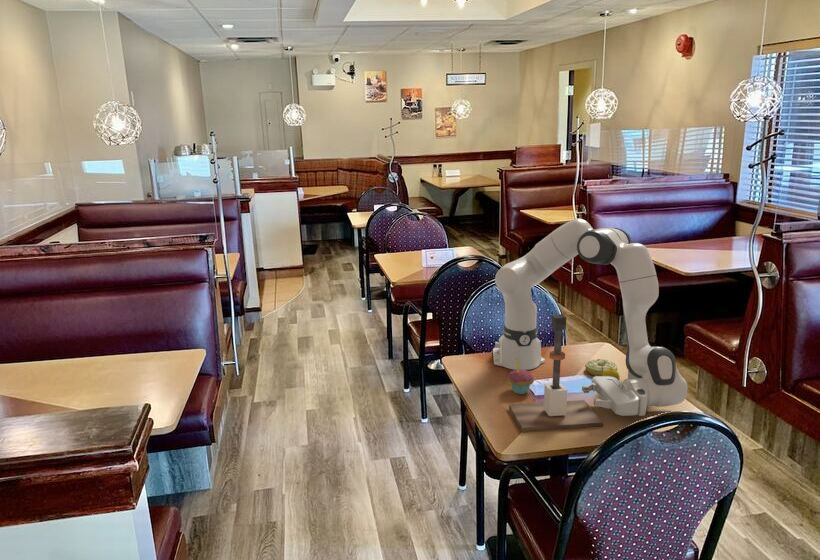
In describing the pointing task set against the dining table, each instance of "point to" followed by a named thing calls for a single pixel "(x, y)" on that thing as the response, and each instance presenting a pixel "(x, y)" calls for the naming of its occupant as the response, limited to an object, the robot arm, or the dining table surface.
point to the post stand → (577, 411)
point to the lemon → (611, 373)
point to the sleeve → (555, 400)
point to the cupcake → (520, 380)
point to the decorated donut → (599, 366)
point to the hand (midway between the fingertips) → (588, 396)
